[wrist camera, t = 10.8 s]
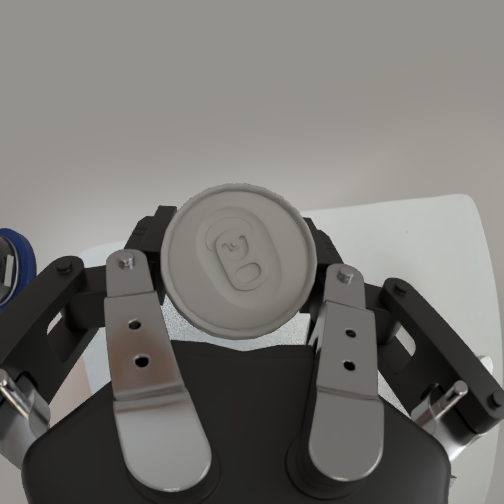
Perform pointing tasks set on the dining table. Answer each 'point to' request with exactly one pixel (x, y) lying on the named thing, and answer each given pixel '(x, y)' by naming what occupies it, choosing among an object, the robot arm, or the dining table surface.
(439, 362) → the robot arm
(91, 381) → the dining table surface
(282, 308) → the beverage can
